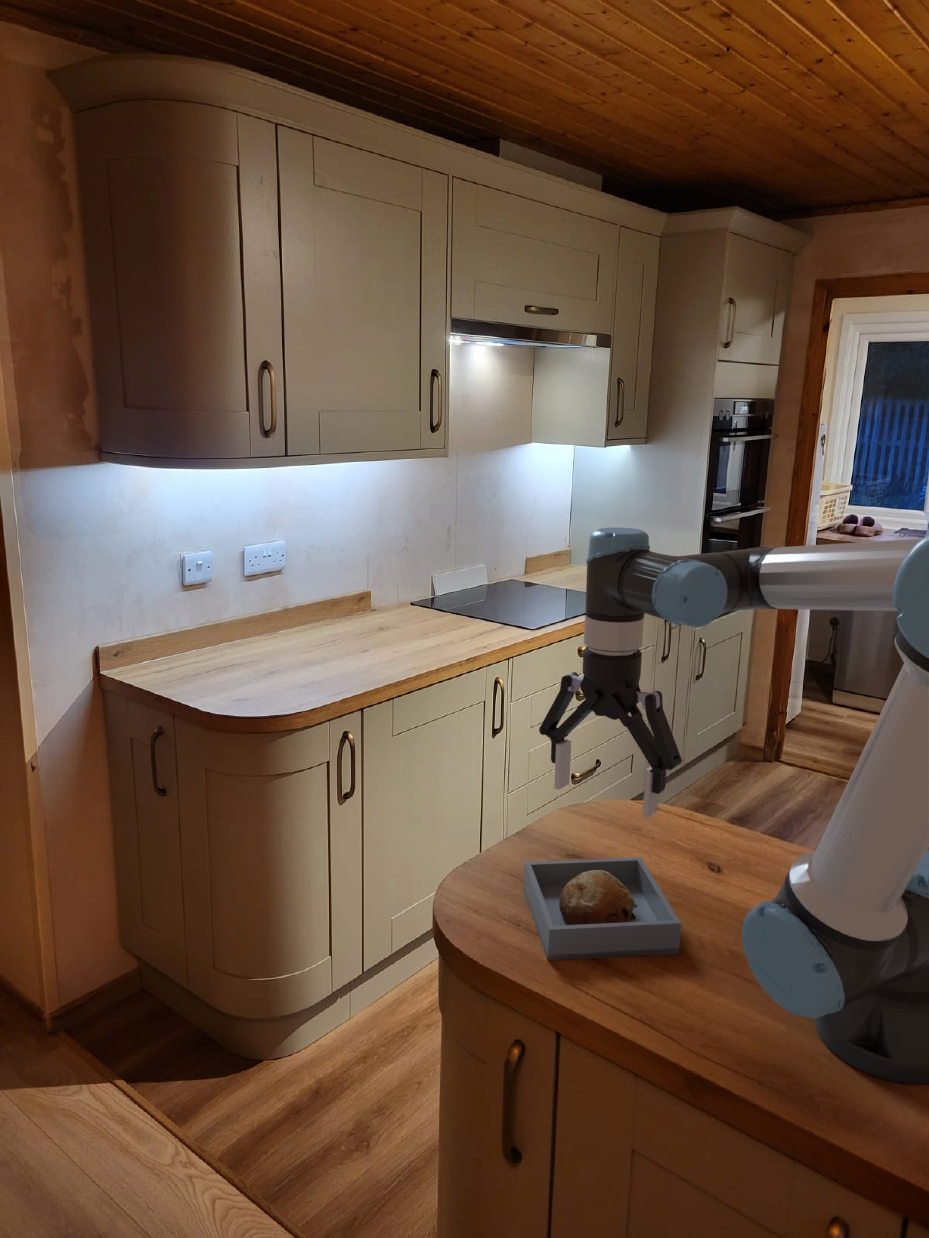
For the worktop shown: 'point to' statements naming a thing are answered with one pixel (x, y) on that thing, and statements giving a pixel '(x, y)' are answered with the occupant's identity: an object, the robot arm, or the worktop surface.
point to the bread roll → (596, 900)
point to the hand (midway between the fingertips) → (604, 799)
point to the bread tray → (638, 937)
